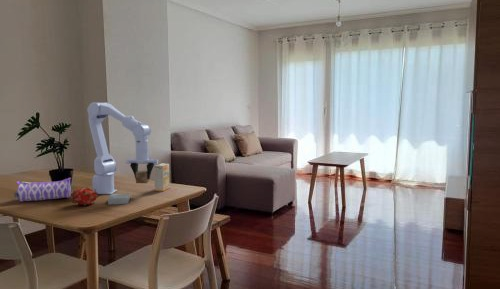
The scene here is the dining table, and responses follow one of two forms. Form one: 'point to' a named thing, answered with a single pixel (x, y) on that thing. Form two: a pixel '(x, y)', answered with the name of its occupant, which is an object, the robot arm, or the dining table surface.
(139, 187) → the dining table surface
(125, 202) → the grey flat square block
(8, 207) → the dining table surface
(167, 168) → the supplement box
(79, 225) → the dining table surface
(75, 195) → the dragon fruit
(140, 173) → the walnut cube
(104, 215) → the dining table surface
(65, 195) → the pencil case
